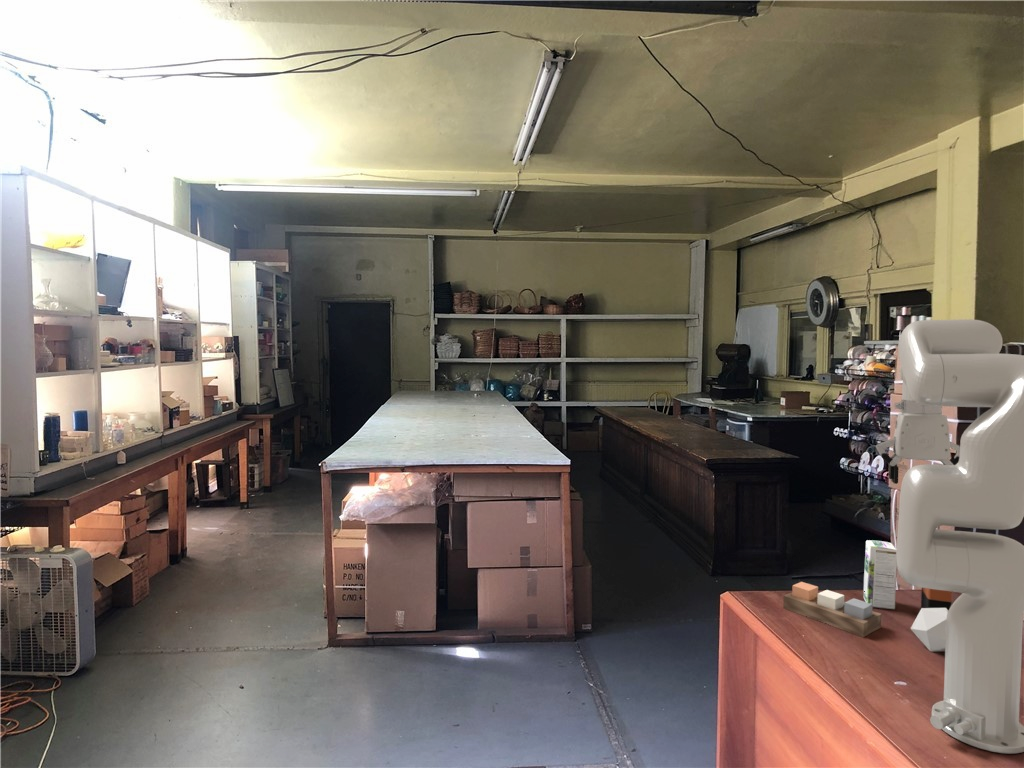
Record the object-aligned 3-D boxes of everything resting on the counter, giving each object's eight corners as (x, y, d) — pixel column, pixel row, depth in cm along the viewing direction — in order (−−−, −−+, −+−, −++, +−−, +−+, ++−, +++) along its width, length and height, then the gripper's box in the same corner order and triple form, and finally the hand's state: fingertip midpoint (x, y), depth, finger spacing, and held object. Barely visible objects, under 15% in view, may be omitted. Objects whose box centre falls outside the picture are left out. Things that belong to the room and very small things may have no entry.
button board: (881, 627, 133) (881, 613, 133) (863, 637, 128) (863, 623, 128) (801, 599, 148) (802, 587, 147) (783, 608, 143) (783, 595, 143)
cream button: (844, 608, 137) (844, 595, 137) (835, 612, 135) (835, 599, 135) (826, 602, 141) (826, 589, 140) (817, 606, 138) (817, 593, 138)
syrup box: (862, 597, 149) (864, 539, 148) (890, 600, 147) (891, 541, 146) (867, 606, 143) (869, 546, 143) (896, 610, 141) (898, 549, 141)
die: (965, 666, 118) (981, 620, 120) (923, 641, 119) (939, 597, 121) (937, 660, 125) (952, 618, 128) (897, 637, 127) (913, 595, 129)
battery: (927, 624, 134) (929, 580, 134) (920, 612, 140) (921, 569, 140) (951, 627, 132) (952, 582, 132) (942, 615, 139) (944, 572, 138)
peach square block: (818, 599, 142) (818, 586, 142) (808, 603, 140) (809, 590, 140) (801, 593, 145) (801, 581, 145) (792, 597, 143) (792, 585, 143)
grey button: (872, 617, 132) (872, 604, 132) (863, 622, 130) (863, 608, 130) (853, 611, 136) (853, 598, 136) (844, 615, 133) (844, 602, 133)
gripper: (880, 409, 135) (878, 484, 136) (974, 411, 129) (971, 490, 130) (873, 405, 142) (872, 478, 143) (962, 407, 136) (959, 483, 137)
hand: (919, 483), depth 137 cm, fingers open, 9 cm apart
